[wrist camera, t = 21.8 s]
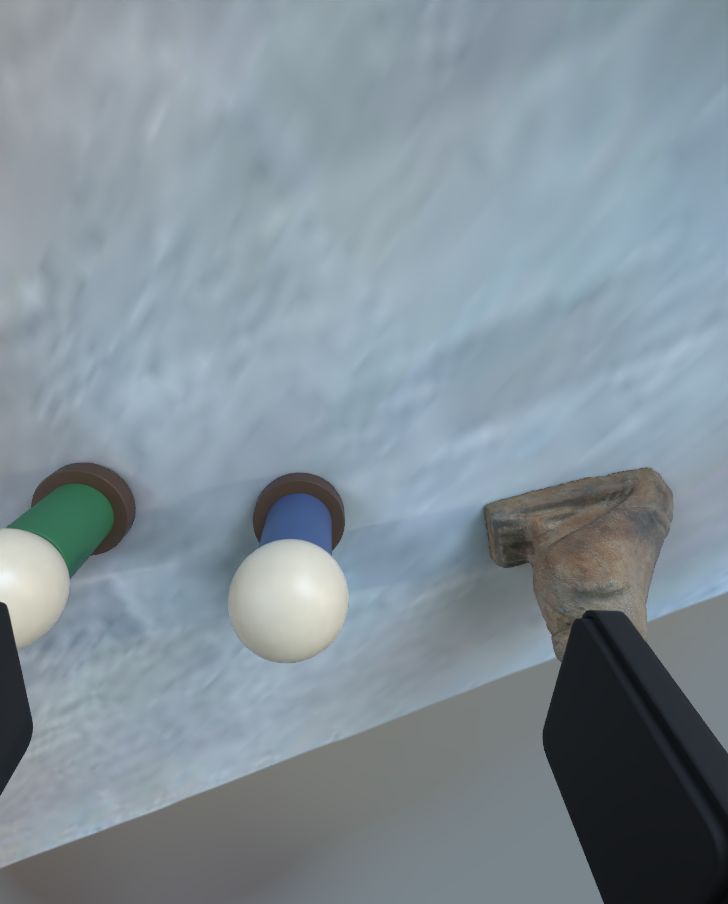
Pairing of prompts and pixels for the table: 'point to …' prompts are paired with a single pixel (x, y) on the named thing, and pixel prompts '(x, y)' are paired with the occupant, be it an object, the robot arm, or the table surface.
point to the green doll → (59, 543)
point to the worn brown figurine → (585, 545)
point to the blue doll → (292, 572)
